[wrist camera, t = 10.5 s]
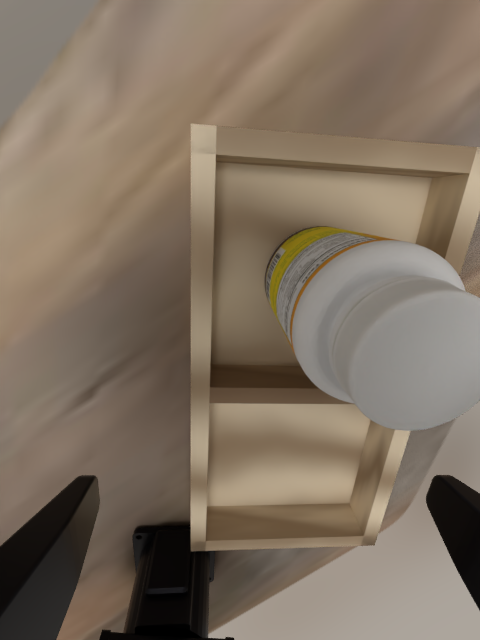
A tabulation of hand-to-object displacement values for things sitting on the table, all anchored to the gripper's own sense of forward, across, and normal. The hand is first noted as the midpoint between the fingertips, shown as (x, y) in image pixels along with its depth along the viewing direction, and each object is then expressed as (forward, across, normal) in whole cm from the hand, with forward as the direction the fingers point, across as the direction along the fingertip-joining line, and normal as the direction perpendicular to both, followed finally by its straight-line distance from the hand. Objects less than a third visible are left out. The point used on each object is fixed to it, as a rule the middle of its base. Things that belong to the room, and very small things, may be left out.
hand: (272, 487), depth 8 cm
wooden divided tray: (+12, -4, +2) cm, 12 cm away
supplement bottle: (+11, -4, -4) cm, 12 cm away
